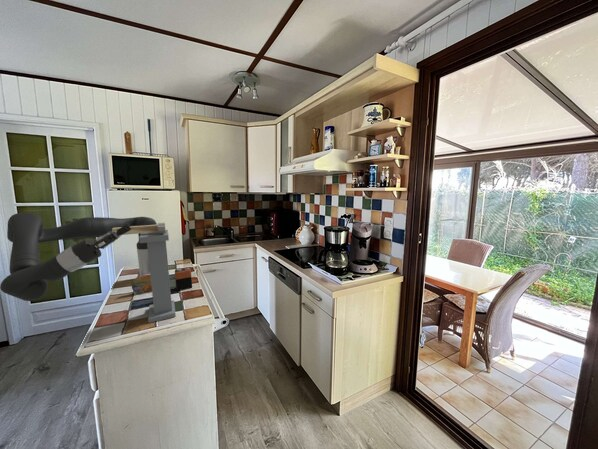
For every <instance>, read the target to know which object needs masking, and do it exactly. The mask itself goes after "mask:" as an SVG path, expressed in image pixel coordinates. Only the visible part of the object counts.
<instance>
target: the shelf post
mask: <svg viewBox="0 0 598 449" xmlns="http://www.w3.org/2000/svg"><path fill="white" fill-rule="evenodd" d="M165 231H166V233H160V234H158V232H151V233H141V234H140V237H139V236H138V241H140V243H147V248H148V257H149V267H150V277H151V286H152V292H151V293H152V294H151V296H152V302H153V303H152V304H149V305H148V306H149V308H148V313H147V314H148V315H147V317H148V318H147V322H148V324H150V323H155V322H159V321H163V320H168V319H172V318H176V317H177V316H176V306H175V300H174V299H173V300H172V296H171V294H172V293H171V284H170V283H171V282H170V272H169V262H168V261H169V260H168V250H167V241H168V242H169V240H170V239H169V230H168V229H165Z"/></svg>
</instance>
